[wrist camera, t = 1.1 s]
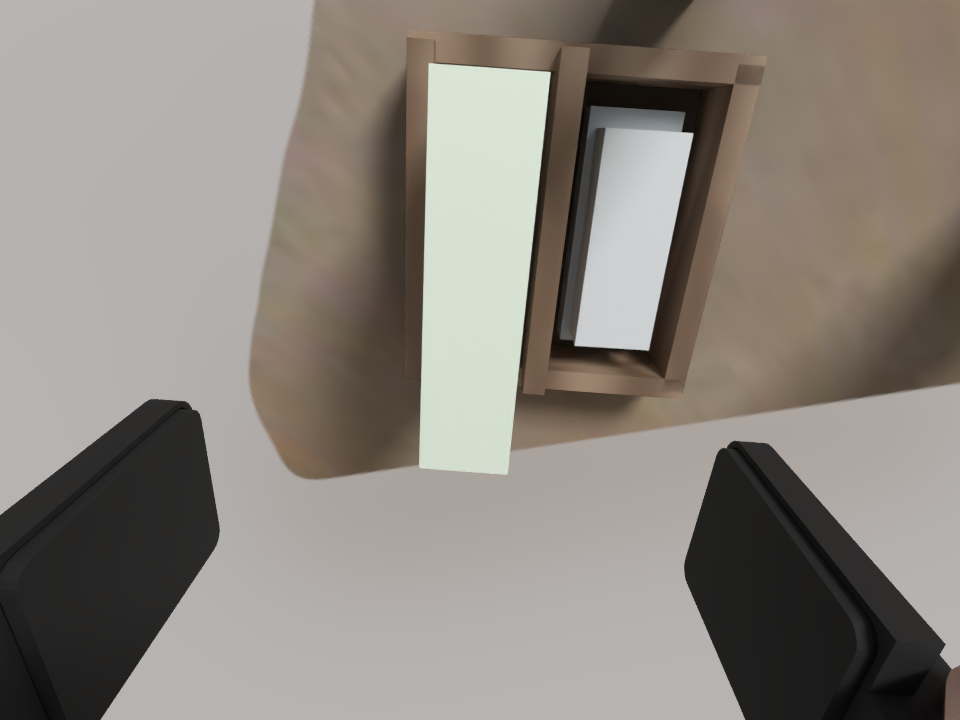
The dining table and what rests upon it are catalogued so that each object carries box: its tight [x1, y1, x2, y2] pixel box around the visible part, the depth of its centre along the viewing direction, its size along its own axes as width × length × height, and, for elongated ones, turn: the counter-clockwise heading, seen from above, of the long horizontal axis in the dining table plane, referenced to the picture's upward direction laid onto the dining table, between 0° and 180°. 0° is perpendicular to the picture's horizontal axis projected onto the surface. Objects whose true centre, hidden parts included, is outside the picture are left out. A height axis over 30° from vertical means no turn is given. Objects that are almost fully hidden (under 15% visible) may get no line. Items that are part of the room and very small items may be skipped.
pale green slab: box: [419, 63, 551, 475], centre depth 29 cm, size 4×16×20 cm, turn 176°
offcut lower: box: [557, 106, 686, 340], centre depth 38 cm, size 6×16×3 cm, turn 176°
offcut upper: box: [569, 128, 693, 351], centre depth 35 cm, size 5×14×3 cm, turn 177°
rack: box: [404, 30, 768, 399], centre depth 35 cm, size 20×22×7 cm
